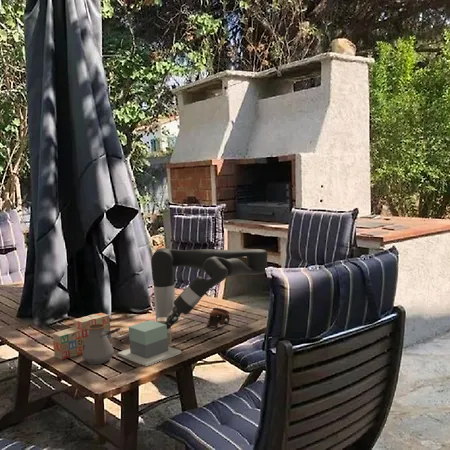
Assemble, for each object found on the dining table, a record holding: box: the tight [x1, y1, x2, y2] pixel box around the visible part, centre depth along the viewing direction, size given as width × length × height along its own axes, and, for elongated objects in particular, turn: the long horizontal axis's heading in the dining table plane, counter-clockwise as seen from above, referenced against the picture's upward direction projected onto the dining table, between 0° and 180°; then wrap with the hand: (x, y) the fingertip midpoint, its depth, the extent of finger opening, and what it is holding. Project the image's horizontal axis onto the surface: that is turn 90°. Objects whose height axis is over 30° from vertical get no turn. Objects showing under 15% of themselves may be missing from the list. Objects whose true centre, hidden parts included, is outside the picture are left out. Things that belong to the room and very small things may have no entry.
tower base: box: [117, 319, 182, 367], centre depth 192 cm, size 16×18×11 cm
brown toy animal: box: [207, 307, 231, 328], centre depth 224 cm, size 12×10×8 cm
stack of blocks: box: [52, 312, 112, 360], centre depth 200 cm, size 21×6×12 cm, turn 134°
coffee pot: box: [81, 324, 124, 365], centre depth 185 cm, size 21×12×15 cm, turn 46°
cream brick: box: [157, 317, 172, 344], centre depth 206 cm, size 5×5×9 cm
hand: (159, 331), depth 206 cm, fingers closed on cream brick, 5 cm apart
